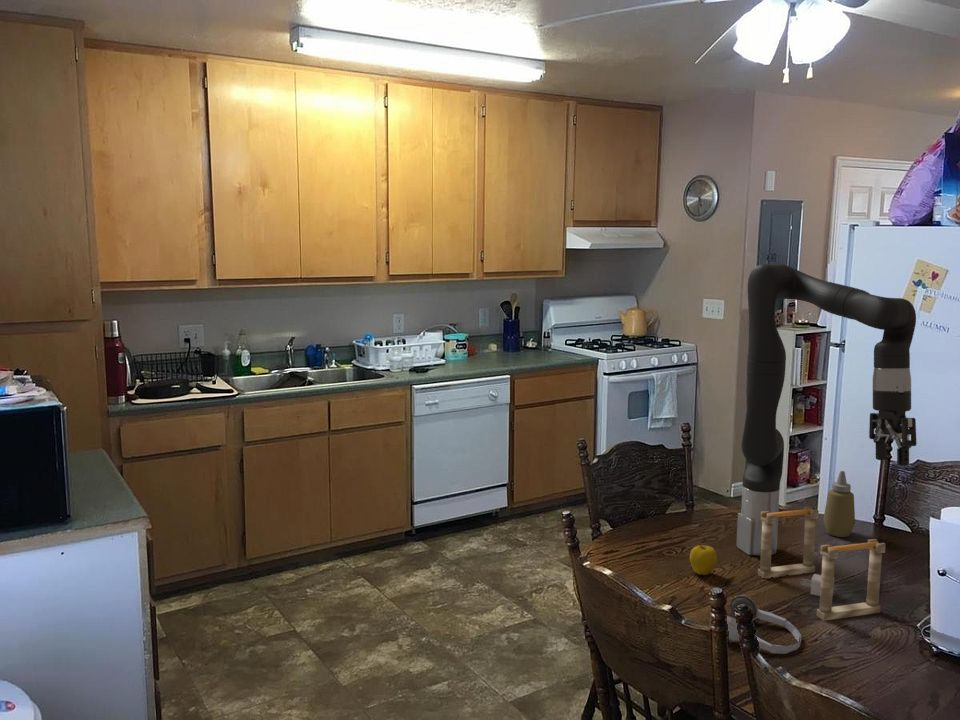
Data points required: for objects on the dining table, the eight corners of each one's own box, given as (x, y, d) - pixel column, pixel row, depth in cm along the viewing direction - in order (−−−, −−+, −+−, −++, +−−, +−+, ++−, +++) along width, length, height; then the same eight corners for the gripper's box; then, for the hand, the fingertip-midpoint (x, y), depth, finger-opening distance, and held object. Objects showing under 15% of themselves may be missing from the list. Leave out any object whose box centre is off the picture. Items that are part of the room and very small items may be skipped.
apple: (684, 574, 193) (685, 543, 192) (697, 566, 198) (698, 536, 197) (708, 582, 189) (709, 550, 188) (720, 573, 193) (722, 543, 192)
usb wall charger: (830, 599, 179) (831, 583, 179) (798, 592, 183) (799, 576, 182) (833, 593, 183) (834, 576, 182) (802, 586, 186) (802, 570, 186)
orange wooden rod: (769, 519, 189) (769, 514, 189) (766, 517, 190) (766, 512, 190) (814, 514, 192) (814, 509, 192) (811, 512, 193) (811, 507, 193)
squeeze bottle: (859, 539, 215) (864, 475, 212) (829, 539, 215) (833, 475, 212) (846, 528, 223) (850, 467, 220) (817, 528, 223) (821, 467, 220)
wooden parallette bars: (824, 621, 169) (829, 550, 167) (757, 574, 193) (759, 511, 191) (881, 613, 173) (886, 543, 170) (807, 567, 196) (811, 506, 194)
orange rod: (830, 553, 168) (831, 548, 168) (827, 551, 169) (827, 546, 169) (880, 547, 171) (880, 542, 171) (876, 545, 172) (876, 540, 172)
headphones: (690, 631, 164) (789, 673, 153) (695, 606, 162) (795, 647, 152) (715, 598, 178) (807, 635, 168) (720, 576, 177) (813, 611, 166)
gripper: (858, 387, 179) (858, 458, 179) (893, 390, 165) (893, 467, 165) (890, 387, 179) (890, 458, 180) (928, 390, 165) (928, 467, 165)
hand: (891, 462), depth 172 cm, fingers open, 8 cm apart
